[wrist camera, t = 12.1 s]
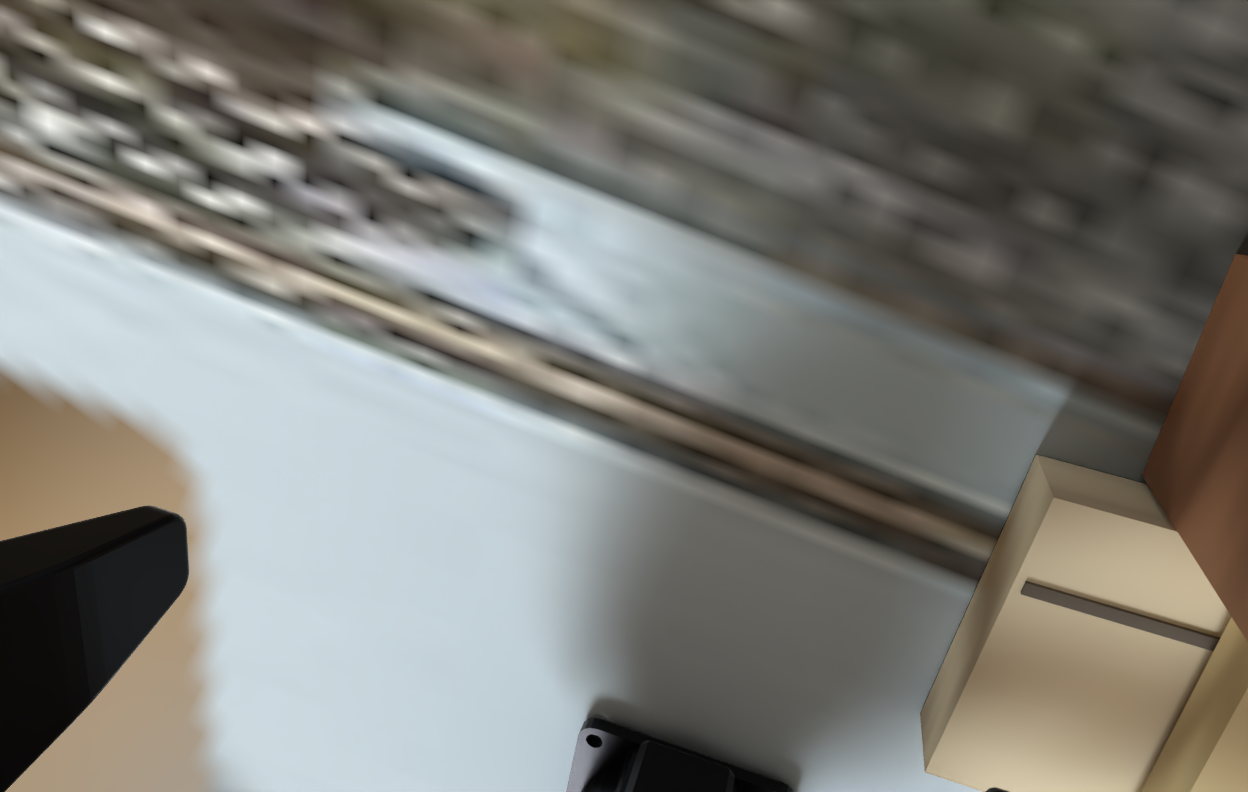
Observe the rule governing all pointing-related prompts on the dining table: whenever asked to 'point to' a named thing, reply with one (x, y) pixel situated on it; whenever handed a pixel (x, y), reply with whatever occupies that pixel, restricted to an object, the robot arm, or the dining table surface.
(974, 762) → the board
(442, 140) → the dining table surface
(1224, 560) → the wooden mallet
